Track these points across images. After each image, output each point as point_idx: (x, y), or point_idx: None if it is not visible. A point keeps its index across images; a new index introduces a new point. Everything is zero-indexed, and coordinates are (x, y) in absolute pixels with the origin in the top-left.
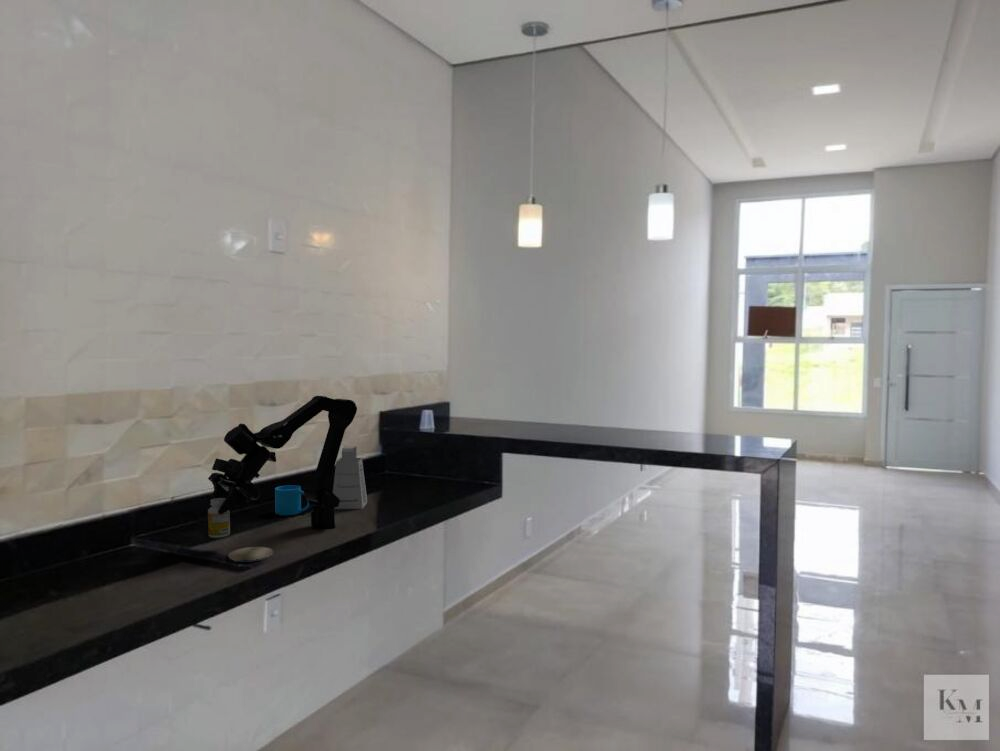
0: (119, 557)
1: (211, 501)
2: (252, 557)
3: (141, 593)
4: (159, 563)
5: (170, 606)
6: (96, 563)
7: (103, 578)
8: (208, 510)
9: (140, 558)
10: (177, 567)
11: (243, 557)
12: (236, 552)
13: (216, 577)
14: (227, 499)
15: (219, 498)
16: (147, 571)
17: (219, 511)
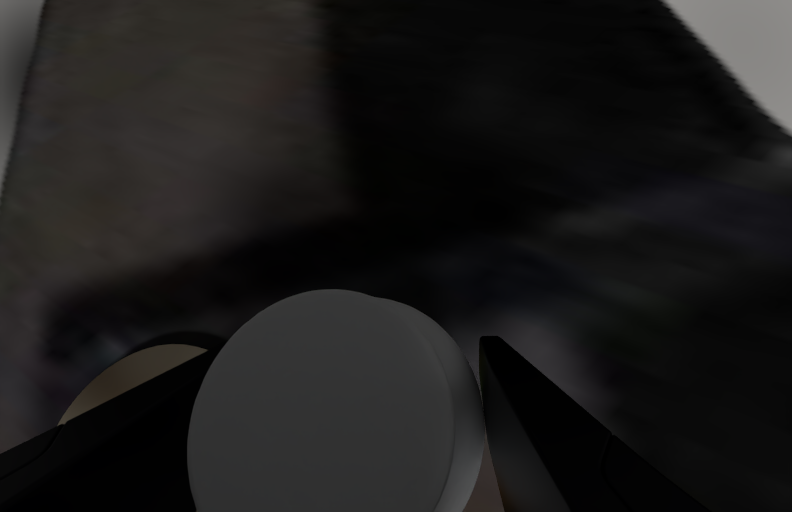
0: (594, 79)
1: (326, 289)
2: None
3: (179, 46)
4: (402, 148)
5: (42, 66)
6: (563, 21)
7: (380, 11)
8: (388, 299)
9: (524, 122)
10: (302, 173)
11: (122, 387)
12: None
13: (92, 219)
14: (22, 447)
15: (376, 480)
16: (344, 99)
17: (223, 346)
